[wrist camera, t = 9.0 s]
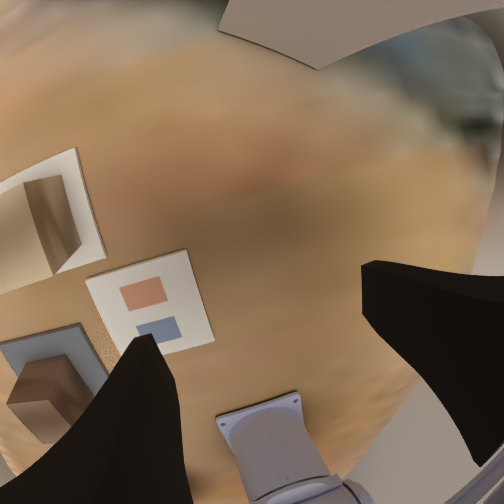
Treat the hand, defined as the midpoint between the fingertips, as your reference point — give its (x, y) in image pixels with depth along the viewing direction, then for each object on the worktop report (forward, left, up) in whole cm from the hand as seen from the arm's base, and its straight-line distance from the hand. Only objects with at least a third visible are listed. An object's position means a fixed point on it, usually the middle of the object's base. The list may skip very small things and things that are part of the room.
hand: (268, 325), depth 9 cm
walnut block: (-7, +16, -10) cm, 20 cm away
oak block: (+4, +11, -10) cm, 15 cm away
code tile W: (-4, +6, -10) cm, 12 cm away
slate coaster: (-8, +16, -10) cm, 20 cm away
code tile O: (+4, +11, -10) cm, 15 cm away
